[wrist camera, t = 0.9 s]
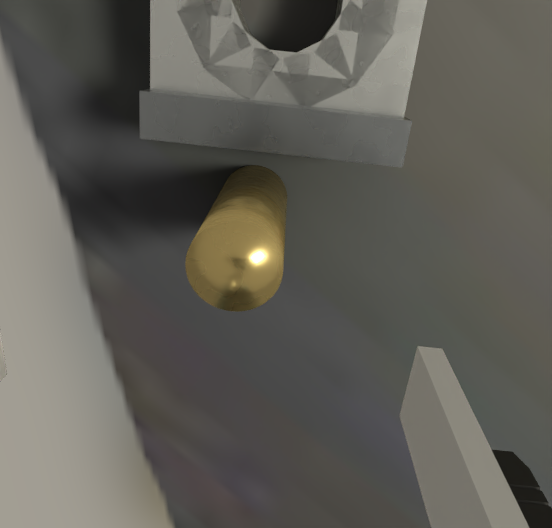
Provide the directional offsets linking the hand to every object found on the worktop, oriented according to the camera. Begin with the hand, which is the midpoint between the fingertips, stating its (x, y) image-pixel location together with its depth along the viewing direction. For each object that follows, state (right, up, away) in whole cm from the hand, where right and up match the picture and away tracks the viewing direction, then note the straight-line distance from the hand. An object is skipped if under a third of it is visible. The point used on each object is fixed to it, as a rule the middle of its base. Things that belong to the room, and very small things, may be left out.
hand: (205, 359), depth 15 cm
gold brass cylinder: (+1, +7, +18) cm, 19 cm away
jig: (+3, +18, +13) cm, 23 cm away
